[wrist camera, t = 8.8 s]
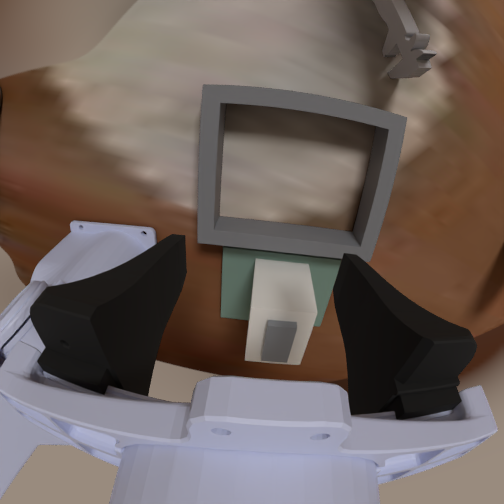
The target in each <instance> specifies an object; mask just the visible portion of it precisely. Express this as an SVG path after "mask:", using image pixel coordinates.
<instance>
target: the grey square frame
mask: <svg viewBox="0 0 504 504" xmlns="http://www.w3.org/2000/svg"><path fill="white" fill-rule="evenodd" d="M226 103H233V104H247V105H259V106H269V107H278V108H286V109H293V110H300V111H306V112H313V113H318V114H324V115H329V116H335V117H339V118H344V119H349V120H353V121H358V122H362V123H366V124H370V125H374V126H376V130H375V136H374V141H373V146H372V151H371V157H370V161H369V166H368V171H367V176H366V180H365V184H364V189H363V193H362V197H361V201H360V205H359V209H358V213H357V217H356V221H355V225H354V228H353V232H349V231H342V230H335V229H327V228H319V227H312V226H304V225H295V224H287V223H279V222H270V221H261V220H252V219H242V218H233V217H223V216H219V214H220V192H221V174H222V157H223V141H224V127H225V114H226ZM406 121H407V117H404V116H401V115H398V114H394V113H391V112H388V111H384V110H381V109H377V108H373V107H370V106H366V105H362V104H358V103H354V102H349V101H345V100H340V99H336V98H331V97H325V96H320V95H314V94H308V93H302V92H296V91H288V90H280V89H272V88H262V87H250V86H235V85H203V90H202V104H201V120H200V140H199V166H198V243H203V244H213V245H222V246H231V247H240V248H249V249H259V250H268V251H277V252H286V253H295V254H304V255H313V256H322V257H331V258H340V259H342V258H343V254H344V253H348V254H356V255H358V256H359V257H360V258H361V259H363V260H364V261H366V262H370V260H371V257H372V254H373V251H374V248H375V245H376V242H377V239H378V236H379V233H380V229H381V226H382V223H383V219H384V216H385V213H386V209H387V206H388V202H389V198H390V194H391V191H392V187H393V183H394V179H395V175H396V170H397V166H398V162H399V157H400V153H401V148H402V143H403V138H404V132H405V127H406Z"/></svg>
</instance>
